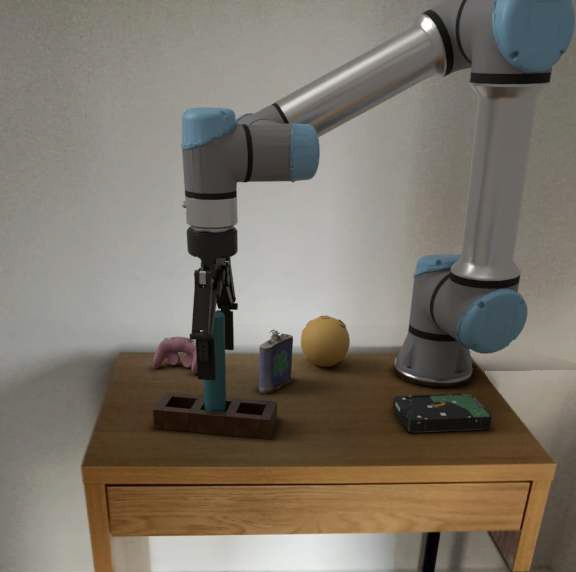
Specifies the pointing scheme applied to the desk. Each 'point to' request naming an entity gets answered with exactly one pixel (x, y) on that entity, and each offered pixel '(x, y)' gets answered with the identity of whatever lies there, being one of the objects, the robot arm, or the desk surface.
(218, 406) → the dowel
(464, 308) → the robot arm
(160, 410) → the pen block
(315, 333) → the stress ball
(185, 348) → the video game controller
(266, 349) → the flask
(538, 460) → the desk surface
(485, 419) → the disk drive
